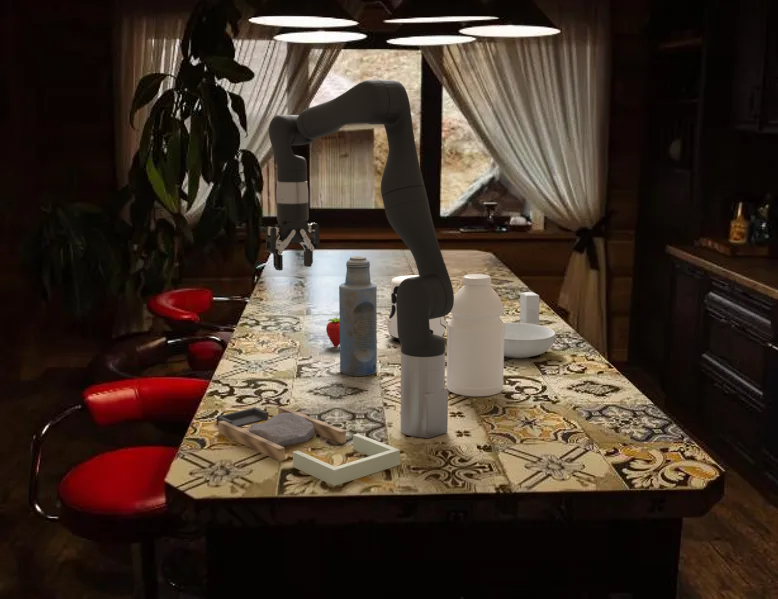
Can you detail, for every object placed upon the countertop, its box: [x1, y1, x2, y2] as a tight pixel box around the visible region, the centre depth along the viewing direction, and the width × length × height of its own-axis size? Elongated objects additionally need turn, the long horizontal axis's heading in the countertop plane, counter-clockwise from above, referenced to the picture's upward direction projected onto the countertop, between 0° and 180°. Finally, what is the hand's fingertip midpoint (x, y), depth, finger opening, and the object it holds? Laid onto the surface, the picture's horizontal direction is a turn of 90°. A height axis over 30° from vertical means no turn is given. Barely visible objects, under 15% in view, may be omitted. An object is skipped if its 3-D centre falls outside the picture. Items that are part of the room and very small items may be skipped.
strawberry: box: [325, 314, 340, 348], centre depth 275 cm, size 6×8×10 cm
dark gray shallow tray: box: [216, 407, 269, 427], centre depth 210 cm, size 5×10×2 cm, turn 132°
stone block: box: [248, 413, 316, 447], centre depth 199 cm, size 12×5×10 cm
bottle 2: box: [445, 273, 506, 397], centre depth 232 cm, size 14×14×28 cm
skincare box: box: [519, 291, 540, 325], centre depth 293 cm, size 6×4×12 cm
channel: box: [218, 405, 347, 462], centre depth 199 cm, size 22×16×2 cm
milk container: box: [387, 274, 447, 341], centre depth 284 cm, size 17×17×18 cm
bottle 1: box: [338, 255, 378, 377], centre depth 247 cm, size 10×10×30 cm
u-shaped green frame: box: [292, 433, 401, 487], centre depth 184 cm, size 13×16×3 cm
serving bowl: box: [504, 322, 556, 359], centre depth 268 cm, size 21×21×7 cm
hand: (293, 268), depth 231 cm, fingers open, 8 cm apart
